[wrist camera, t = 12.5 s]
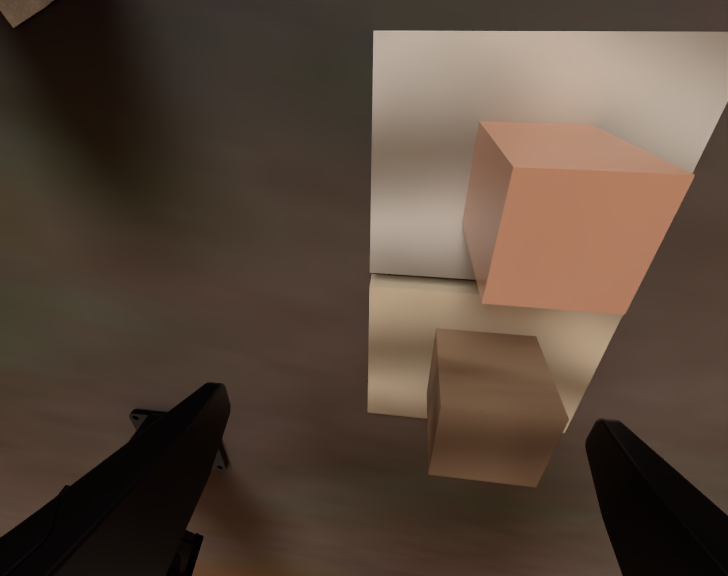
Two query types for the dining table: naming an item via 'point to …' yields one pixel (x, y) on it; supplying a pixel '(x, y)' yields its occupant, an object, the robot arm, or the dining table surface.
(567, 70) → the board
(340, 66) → the dining table surface
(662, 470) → the robot arm
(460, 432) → the walnut block
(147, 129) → the dining table surface
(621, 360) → the dining table surface
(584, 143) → the salmon orange block
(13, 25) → the condiment
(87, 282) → the dining table surface
